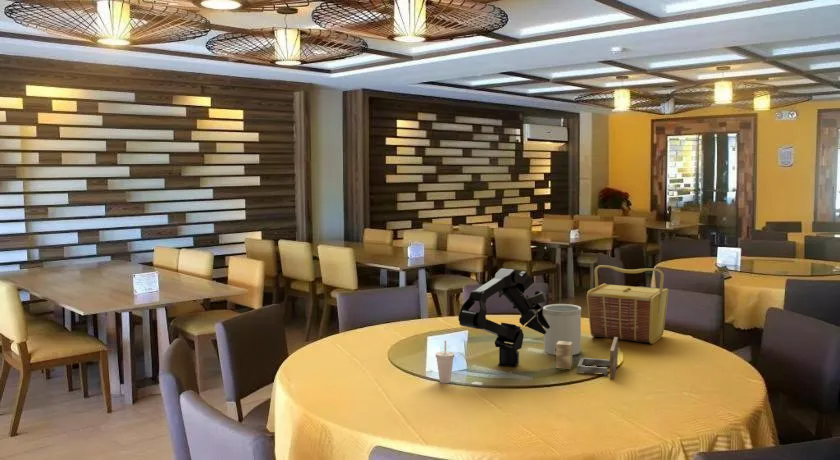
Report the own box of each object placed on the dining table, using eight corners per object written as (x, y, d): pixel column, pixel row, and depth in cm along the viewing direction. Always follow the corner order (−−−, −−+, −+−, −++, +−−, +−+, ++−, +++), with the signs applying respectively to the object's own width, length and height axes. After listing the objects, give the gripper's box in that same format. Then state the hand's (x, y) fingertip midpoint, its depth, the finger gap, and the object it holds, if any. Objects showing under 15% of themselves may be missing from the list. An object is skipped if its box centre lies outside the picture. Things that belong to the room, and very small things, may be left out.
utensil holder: (538, 354, 277) (539, 309, 275) (547, 345, 290) (547, 302, 289) (577, 357, 271) (577, 312, 270) (583, 348, 285) (584, 304, 283)
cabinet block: (554, 368, 257) (554, 343, 257) (556, 364, 262) (556, 340, 261) (570, 369, 256) (570, 345, 255) (572, 366, 260) (572, 341, 259)
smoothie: (456, 379, 245) (456, 339, 244) (451, 385, 239) (451, 344, 238) (438, 378, 247) (438, 338, 246) (433, 383, 241) (432, 342, 240)
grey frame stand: (575, 376, 248) (575, 347, 247) (582, 361, 266) (582, 334, 266) (613, 379, 243) (613, 350, 243) (617, 363, 262) (617, 337, 261)
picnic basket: (670, 335, 305) (671, 265, 303) (654, 348, 284) (656, 273, 281) (603, 327, 321) (604, 260, 318) (583, 339, 299) (584, 268, 297)
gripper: (528, 288, 251) (560, 321, 249) (537, 280, 269) (566, 311, 266) (506, 309, 254) (537, 342, 252) (516, 300, 272) (545, 330, 269)
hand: (547, 330), depth 260 cm, fingers open, 9 cm apart
